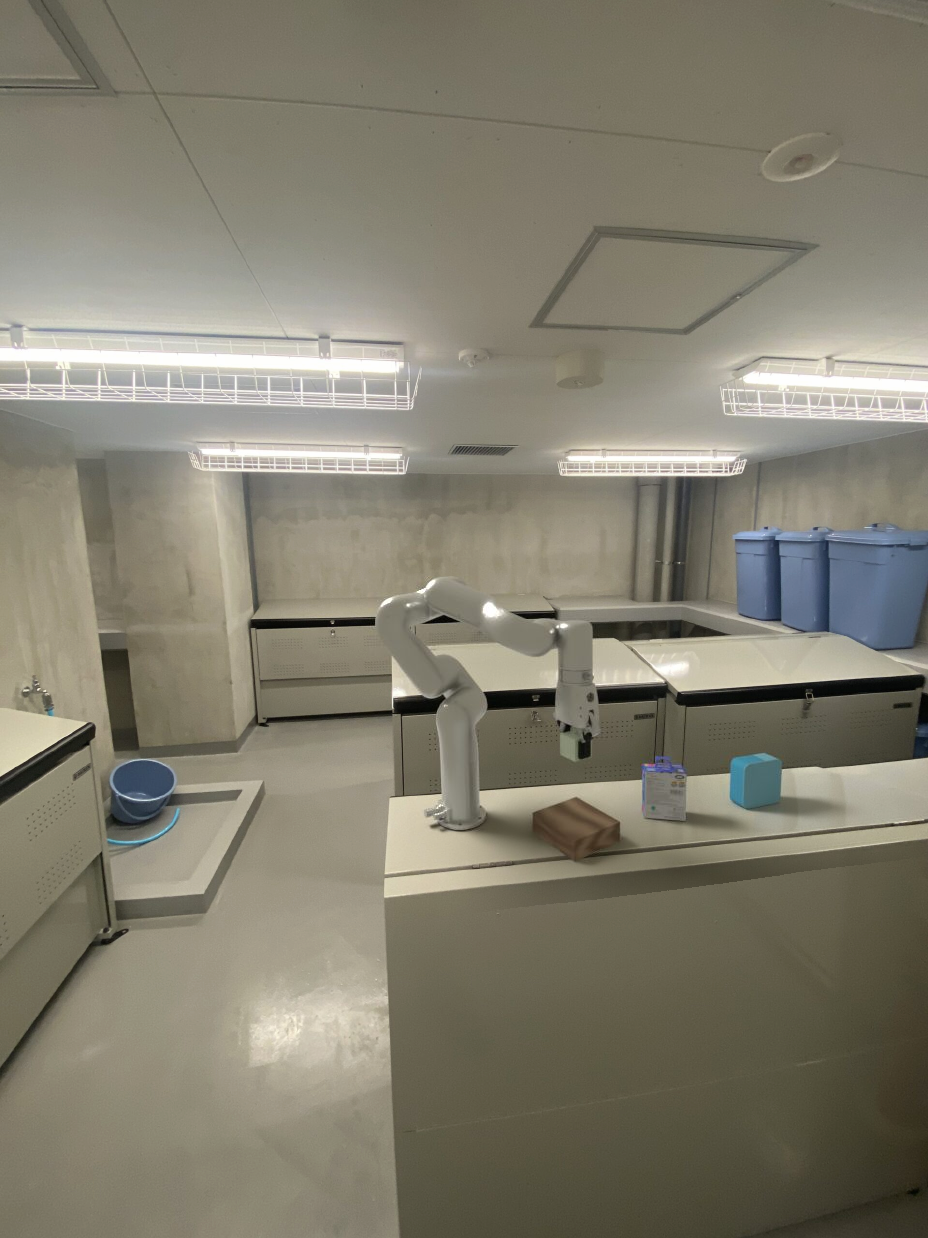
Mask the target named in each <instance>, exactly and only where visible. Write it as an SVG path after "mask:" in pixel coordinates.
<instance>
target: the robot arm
mask: <svg viewBox="0 0 928 1238" xmlns="http://www.w3.org/2000/svg"><path fill="white" fill-rule="evenodd" d="M442 616H446V617H448V618H452V619H453V620H456V621H458V622H460V623H463V624H465V625H468V626H470V627H472V628H474V629H477V630H478V631H480V632H481V633H482V634H483V635H485V636H486V637H488V638H490V639H491V640H492V641H494V642H495V643H497V644H499V645H500V646H503V647H505V648H507V649H510V650H512V651H514V652H517V653H520V654H522V655H524V656H526V657H532V658H541V657H544V656H546V655H547V654H548V653H549V652H551V651H552V650H557V658H558V659H557V663H558V664H557V668H558V671H557V672H558V673H557V674H558V677H557V678H558V679H557V683H556V688H555V689H556V690H555V701H554V703H555V705H554V706H555V708H554V709H555V710H554V711H553V713H552V716H553V717H554V719H555V721H556V723H557V725H558V730H559V734H560V733H564V732H568V731H572V730H573V727H574V728H576V729H577V730H578V732H579V737H580V741H579V742H578V758H579V759H581V760H580V761H583V760H582V759H584V760H586V759H585V758H587V759H590V758H589V757H590V756H591V741H592V742H593V740H594V739H595V738H596V736H597V735H599V734H601V733H602V729H601V727H600V707H599V696H598V690H597V687H596V683H594V679H595V676H594V674H593V673H594V672H593V669H594V667H593V664H594V662H593V660H594V659H593V657H594V655H593V654H594V653H593V650H594V649H593V647H594V646H593V641H594V640H593V637H594V635H593V634H594V633H593V625H592V624H591V622H590V621H588V620H582V619H570V620H558V619H552V618H551V619H550V618H537V619H535V620H533V621H532V620H530V619H527V618H524V617H522V616H519V615H517V614H514V612H513V613H512V612H510V611H509V610H507V609H506V608H504V607H502V606H501V604H499V602H498V600H497V599H496V598H495V597H494V596H493V595H491V594H487V593H485V592H483V591H480V590H478V589H476V588H473V587H470V586H468V585H467V583H466V582H465V581H464V579H462V578H460V577H457V576H453V575H450V576H440V577H439V576H437V577H436V578H433V579H432V580H430V581H429V582H428V583H427V585H426V586H425V588H423V589H421V590H420V589H419V590H418V591H414V592H411V593H404V594H395V595H394V596H391V597H389V598H386V599H384V600H383V601H382V602H381V604H380V606H379V607H378V609H377V611H376V615H375V619H374V620H375V622H374V623H375V624H374V625H375V631H376V634H377V637H378V639H379V641H380V643H381V644H382V646H383V647H384V648H385V649H386V651H387V652H388V653H389V654H390V655H391V657H392V658H393V659H394V660H395V662H396V663H397V664H398V665H399V667H400V669H401V670H402V672H404V674H405V675H406V677H407V678H408V680H409V681H410V682H411V684H412V685H413V686H414V687H415V689H417V691H418V692H419V694H420V695H422V696H423V697H424V698H426V699H435V698H438V697H441V696H442V695H443V696H444V698H445V699H444V700H443V701H442V702H441V703H440V704H439V707H438V708H437V711H436V714H435V724H436V728H437V729H436V730H437V735H438V740H439V758H440V781H441V782H440V783H441V799H438V800H437V804H436V805H435V806H433V807H429V808H426V809H424V810H423V816H424V817H425V819H428V818H430V817H432V819H433V821H437V823H438V824H439V825H440V826H442V827H443V828H446V829H450V830H456V831H465V830H470V829H471V830H472V829H474V828H476V827H479V826H480V825H482V824H483V823H484V822H485V821H486V818H487V812H486V809H485V807H484V806H483V805H481V804H480V803H481V801H480V771H479V769H480V767H479V766H480V765H479V760H480V759H479V744H478V737H477V733H476V725H477V723H478V722H479V721H480V720H481V719H482V718H483V717H484V716H485V714H486V712H487V709H488V702H487V701H488V700H487V697H486V695H485V693H484V691H483V690H482V688H481V687H480V686H479V685H478V684H477V682H476V680H475V679H474V678H473V677H472V676H471V674H470V673H469V672H468V671H467V669H466V668H465V667H464V665H463V664H462V663H461V662H460V661H459V660H458V659H457V658H456V657H454V656H452V655H450V654H445V653H444V654H443V653H442V654H437V655H435V654H434V653H433V652H432V651H431V649H430V648H429V647H428V646H427V644H426V643H425V641H424V640H423V638H421V637H419V635H417V634H416V633H414V632H413V631H412V629H411V627H414V626H417V625H418V626H419V625H422V624H424V623H426V622H428V621H429V622H430V621H431V620H433V619H434V620H435V619H436V618H439V617H442ZM584 731H586V732H584ZM584 733H586V734H585V735H584Z"/></svg>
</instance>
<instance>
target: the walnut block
mask: <svg viewBox="0 0 928 1238" xmlns="http://www.w3.org/2000/svg"><path fill="white" fill-rule="evenodd" d="M532 832H533V833H535V835H537V836H539V837H540V838H542V839H543V840H545V842H547V843H548V844H549V845H551V846H553V848H555V849H556V850H558V851H559V852H560V853H562V854H563V855H565V856H566V857H567V858H568V859H569V860H571V861H572V862H574V863H575V862H577V861H579V860H582V859H583V858H586V857H588V856H590V855H592V854H595V853H597V852H598V850H599V851H601V850H603V849H606V848H608V847H610V846H612V845H614V844H617V843H618V842H620V841H621V821H620V820H617V819H616V818H614V817H613V816H611V815H609V814H607V813H605V811H602V810H601V809H598V808H596V807H595V806H593V805H591V804H590V803H589V802H586V801H584V800H583V799H581V798H579V797H577V796H574V797H571V798H569V799H567V800H564V801H560V802H558V803H555V804H553V805H549V806H547V807H544V808H540V809H538V810H536V811H532ZM600 849H601V850H600ZM596 851H597V852H596ZM594 852H595V853H594Z"/></svg>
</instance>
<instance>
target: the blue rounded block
mask: <svg viewBox="0 0 928 1238" xmlns="http://www.w3.org/2000/svg"><path fill="white" fill-rule="evenodd" d="M782 768H783V762H782V760H781V759H780V758H777V757H775V756H773V755H770V754H767V753H766V752H762V753H756V754H750V755H748V754H747V755H744V756H737V757H733V758H732V759H731V762H730V771H729V772H730V778H729V799H730V801H731V802H733V803H735V804H737V805H738V806H740V807H742V808H744V809H745V810H748V809H755V808H760V807H764V806H769V805H770V806H771V805H775V804H777V803H779V802H780V800H781V794H782V776H783V775H782V773H783V769H782Z"/></svg>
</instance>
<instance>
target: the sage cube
mask: <svg viewBox="0 0 928 1238" xmlns="http://www.w3.org/2000/svg"><path fill="white" fill-rule="evenodd" d="M586 733H587V732H584V735H585V734H586ZM579 741H580V737H579V732H578V729H572V730H571V731H568V732H564V733H560V732H559V753H560V754H559V755H561V756H562V757H563V758H566V759H568V760H570V761H572V762H573V763H576V762H581V761H583V760H586V759H590V758H593V740H592V741H591V756H590V757H589V758H585V759H582V760H581V759H579V758H578V742H579Z"/></svg>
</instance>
